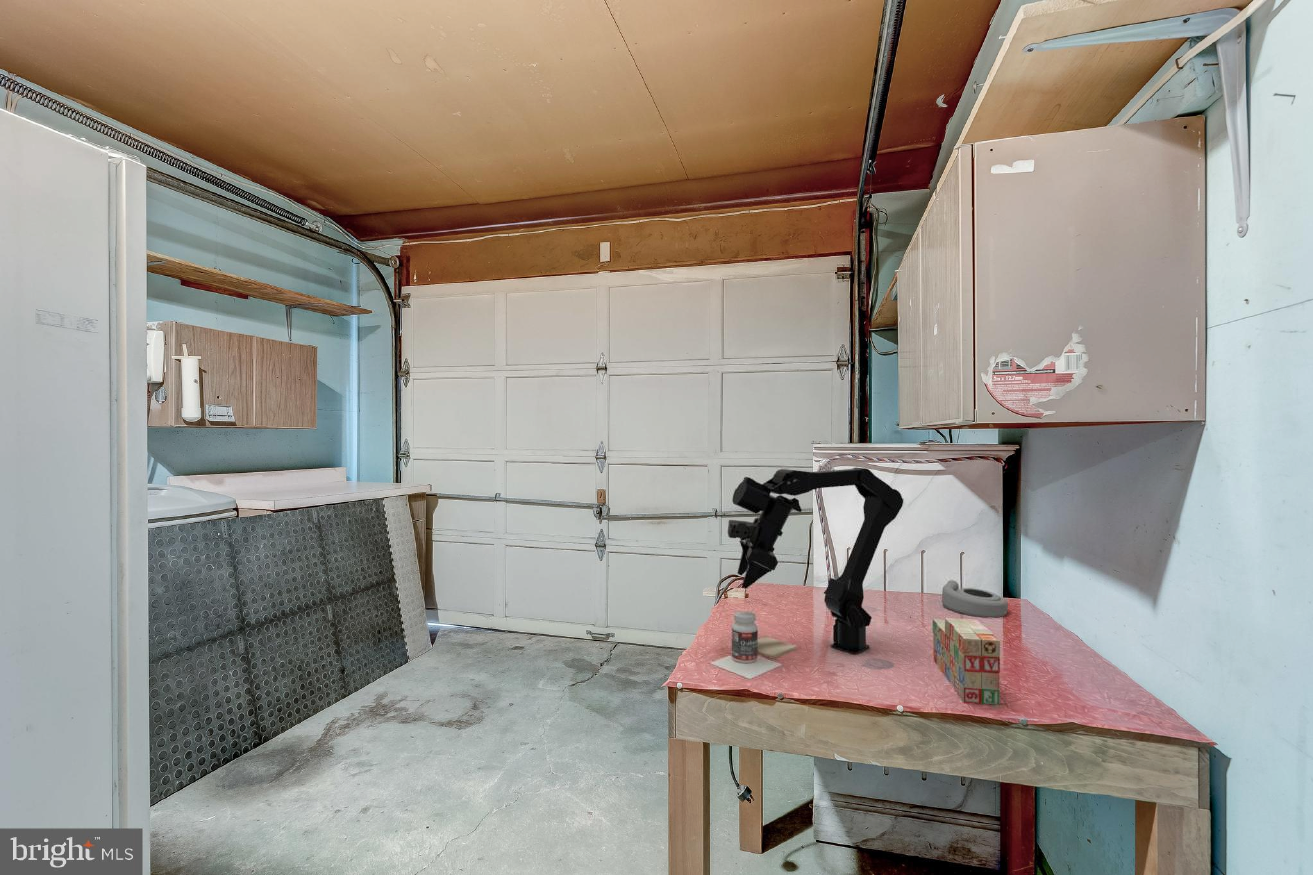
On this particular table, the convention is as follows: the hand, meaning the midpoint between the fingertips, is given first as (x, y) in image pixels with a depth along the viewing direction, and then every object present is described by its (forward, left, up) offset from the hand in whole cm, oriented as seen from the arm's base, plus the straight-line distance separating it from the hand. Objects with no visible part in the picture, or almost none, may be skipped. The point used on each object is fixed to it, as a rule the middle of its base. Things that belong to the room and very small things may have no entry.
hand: (741, 580), depth 132 cm
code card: (-5, +5, -16) cm, 18 cm away
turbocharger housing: (-23, -75, -17) cm, 80 cm away
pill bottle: (-3, +3, -16) cm, 17 cm away
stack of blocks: (-40, -21, -17) cm, 48 cm away
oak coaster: (-3, -6, -16) cm, 18 cm away
